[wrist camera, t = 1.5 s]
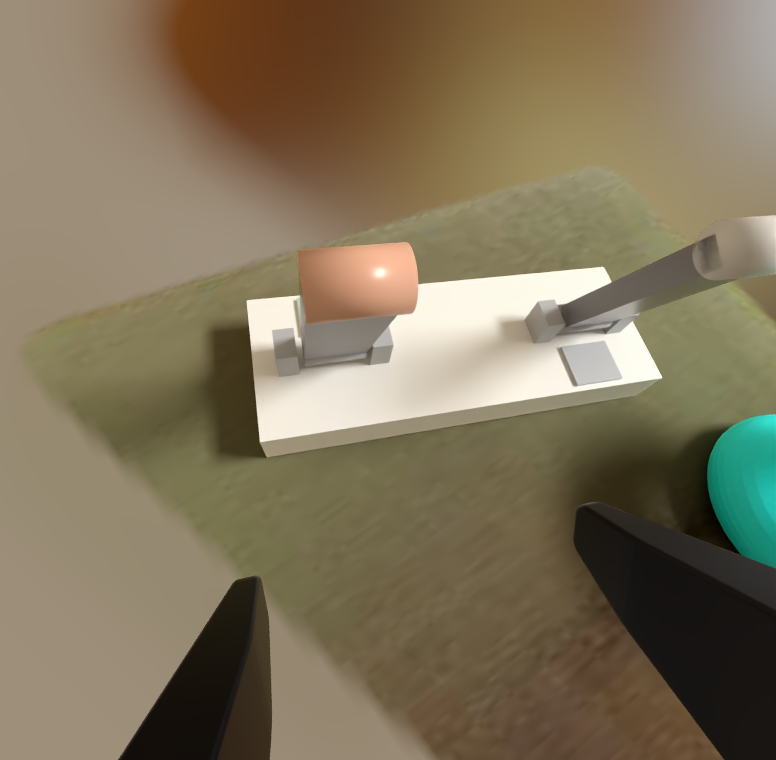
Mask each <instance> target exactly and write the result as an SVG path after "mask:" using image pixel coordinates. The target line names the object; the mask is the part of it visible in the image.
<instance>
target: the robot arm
mask: <svg viewBox="0 0 776 760" xmlns="http://www.w3.org/2000/svg"><path fill="white" fill-rule="evenodd" d="M574 545H575V548H576V550H577V552H578V554H579V555H580V557H581V558H582V560H583V562H584V563H585V565H586V567H587V568H588V570H589V571H590V573H591V575H592V576H593V578H594V579H595V581H596V583H597V584H598V586H599V587H600V589H601V591H602V592H603V594H604V596H605V597H606V599H607V600H608V602H609V604H610V605H611V607H612V608H613V610H614V612H615V613H616V615H617V616H618V618H619V619H620V621H621V622H622V624H623V625H624V626H625V628H626V629H627V631H628V632H629V633H630V635H631V636H632V637H633V639H634V640H635V641H636V643H637V644H638V645H639V647H640V648H641V649H642V651H643V652H644V653H645V655H646V656H647V657H648V659H649V660H650V661H651V663H652V664H653V665H654V667H655V668H656V669H657V671H658V672H659V673H660V675H661V676H662V677H663V679H664V680H665V681H666V683H667V684H668V685H669V687H670V688H671V689H672V691H673V692H674V693H675V695H676V696H677V697H678V699H679V700H680V701H681V703H682V704H683V705H684V707H685V708H686V709H687V711H688V712H689V713H690V715H691V716H692V717H693V719H694V720H695V721H696V723H697V724H698V725H699V727H700V728H701V729H702V731H703V732H704V733H705V735H706V736H707V737H708V739H709V740H710V741H711V743H712V744H713V745H714V747H715V748H716V749H717V751H718V752H719V753H720V755H721V756H722V757H723V759H724V760H776V568H774V567H771V566H768V565H766V564H763V563H760V562H758V561H755V560H752V559H750V558H747V557H745V556H742V555H739V554H737V553H734V552H731V551H729V550H726V549H723V548H721V547H718V546H715V545H713V544H710V543H707V542H705V541H702V540H699V539H697V538H694V537H692V536H689V535H686V534H684V533H681V532H678V531H676V530H673V529H670V528H668V527H665V526H662V525H660V524H657V523H654V522H652V521H649V520H647V519H644V518H641V517H639V516H636V515H633V514H631V513H628V512H625V511H623V510H620V509H617V508H615V507H612V506H609V505H607V504H604V503H601V502H591V503H587V504H582V505H580V506H579V507H578V508H577V511H576V519H575V528H574ZM271 729H272V699H271V667H270V639H269V618H268V611H267V606H266V601H265V596H264V591H263V586H262V581H261V578H260V577H259V576H251V577H247V578H242V579H238V580H236V581H235V582H234V583H233V584H232V585H231V587H230V588H229V590H228V591H227V593H226V595H225V596H224V598H223V599H222V601H221V602H220V604H219V605H218V607H217V608H216V610H215V612H214V613H213V615H212V616H211V618H210V619H209V621H208V622H207V624H206V625H205V627H204V629H203V630H202V632H201V633H200V635H199V636H198V638H197V639H196V641H195V642H194V644H193V645H192V647H191V649H190V650H189V652H188V653H187V655H186V656H185V658H184V659H183V661H182V662H181V664H180V665H179V667H178V668H177V670H176V672H175V673H174V675H173V677H172V678H171V679H170V681H169V682H168V684H167V685H166V687H165V689H164V690H163V692H162V693H161V695H160V696H159V698H158V699H157V701H156V702H155V704H154V705H153V707H152V709H151V710H150V712H149V713H148V715H147V716H146V718H145V719H144V721H143V722H142V724H141V726H140V727H139V729H138V730H137V732H136V733H135V735H134V736H133V738H132V739H131V741H130V742H129V744H128V745H127V747H126V749H125V750H124V752H123V753H122V755H121V756H120V758H119V759H118V760H270V747H271Z"/></svg>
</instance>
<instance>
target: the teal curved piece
mask: <svg viewBox="0 0 776 760" xmlns="http://www.w3.org/2000/svg"><path fill="white" fill-rule="evenodd" d="M707 482H708V490H709V495H710V499H711V503H712V506H713V509H714V511H715V514H716V516H717V519H718V521H719V522H720V524H721V526H722V528H723V530H724V532H725V534H726V535H727V537H728V538H729V539H730V541H731V542H732V544H733V545H734V546H735V548H736V549H737V550H738V551H739V553H740V554H741V555H742V556H745V557H747V558H750V559H752V560H755V561H758V562H760V563H763V564H766V565H768V566H771V567H774V568H776V415H762V416H756V417H751V418H748V419H746V420H743V421H741V422H739V423H737V424H735V425H733V426H732V427H730V428H729V429H728V430H727V431H726V432H725V433H723V434H722V435H721V437H720V438H719V439H718V440H717V442H716V444H715V445H714V448H713V450H712V452H711V455H710V458H709V462H708V468H707Z"/></svg>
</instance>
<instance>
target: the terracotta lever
mask: <svg viewBox="0 0 776 760" xmlns="http://www.w3.org/2000/svg"><path fill="white" fill-rule="evenodd" d="M297 262H298V271H299V288H300V320H301V343H302V351H303V358H304V364H305V366H310V365H318V364H326V363H333V362H341V361H349V360H357V359H365V358H366V352H367V351H368V350H369V349H370V348H371V346H372V345H373V344H374V343H375V342H376V340H377V339H378V338H379V337H380V336H381V334H382V333H383V332H384V331H385V330H386V328H387V327H388V326H389V325H390V324H391V322H392V321H393V320H394V319H395V318H396V316H397V315H405V314H412V313H413V312H414V311H415V308H416V305H417V299H418V274H417V266H416V261H415V257H414V253H413V250H412V248H411V246H410V245H409V244H408V243H407V242H402V243H388V244H374V245H360V246H346V247H332V248H319V249H305V250H297Z"/></svg>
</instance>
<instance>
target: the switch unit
mask: <svg viewBox="0 0 776 760" xmlns="http://www.w3.org/2000/svg"><path fill="white" fill-rule="evenodd" d="M609 283H611V280H610V278H609V276H608V274H607V272H606V270H605V269H604V267H598V268H588V269H577V270H566V271H556V272H545V273H534V274H524V275H513V276H502V277H492V278H481V279H470V280H460V281H449V282H438V283H428V284H418V299H417V305H416V308H415V311H414V312H413V313H412V314H405V315H397V316H396V318H395V319H394V320H393V321H392V322H391V324H390V325H389V326H388V327H387V328H386V330H385V331H384V332H383V333H382V334H381V336H380V337H379V338H378V339H377V340H376V342H375V343H374V344H373V345H372V346H371V348H370V349H369V350H368V351H367V352H366V358H365V359H357V360H349V361H341V362H333V363H326V364H318V365H310V366H305V364H304V358H303V351H302V343H301V320H300V296H289V297H278V298H268V299H257V300H247V309H248V320H249V330H250V341H251V352H252V362H253V373H254V384H255V395H256V405H257V416H258V427H259V437H260V444H261V446H262V448H263V450H264V453H265V455H266V457H273V456H279V455H285V454H290V453H296V452H302V451H308V450H314V449H320V448H326V447H332V446H338V445H344V444H350V443H356V442H362V441H368V440H374V439H380V438H386V437H392V436H398V435H404V434H410V433H416V432H422V431H428V430H434V429H440V428H446V427H452V426H458V425H464V424H470V423H476V422H482V421H488V420H494V419H500V418H506V417H512V416H518V415H524V414H530V413H536V412H542V411H548V410H554V409H560V408H566V407H572V406H578V405H584V404H590V403H596V402H601V401H607V400H613V399H619V398H625V397H631V396H635V395H637V394H638V393H640V392H641V391H643V390H645V389H646V388H648V387H649V386H651V385H652V384H654V383H655V382H657V381H659V380H660V379H662V376H661V374H660V372H659V370H658V369H657V367H656V365H655V363H654V361H653V359H652V357H651V355H650V353H649V352H648V350H647V348H646V346H645V344H644V342H643V340H642V338H641V336H640V335H639V333H638V331H637V329H636V327H635V325H634V323H633V320H634V319H636V318H637V317H638V316H639V313H637V314H634V315H631V316H629V317H626V318H623V319H620V320H617V321H614V322H613V323H612V324H611V326H609V327H607V328H600V329H592V330H584V331H576V332H568V333H561V334H557V333H558V332H559V331H560V330H561V329H562V327H563V326H564V325H565V321H564V319H563V317H562V315H561V313H560V310H559V308H558V306H557V305H559V304H567V303H569V302H571V301H573V300H575V299H577V298H580V297H582V296H584V295H586V294H588V293H590V292H592V291H594V290H597V289H599V288H601V287H603V286H605V285H607V284H609Z"/></svg>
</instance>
